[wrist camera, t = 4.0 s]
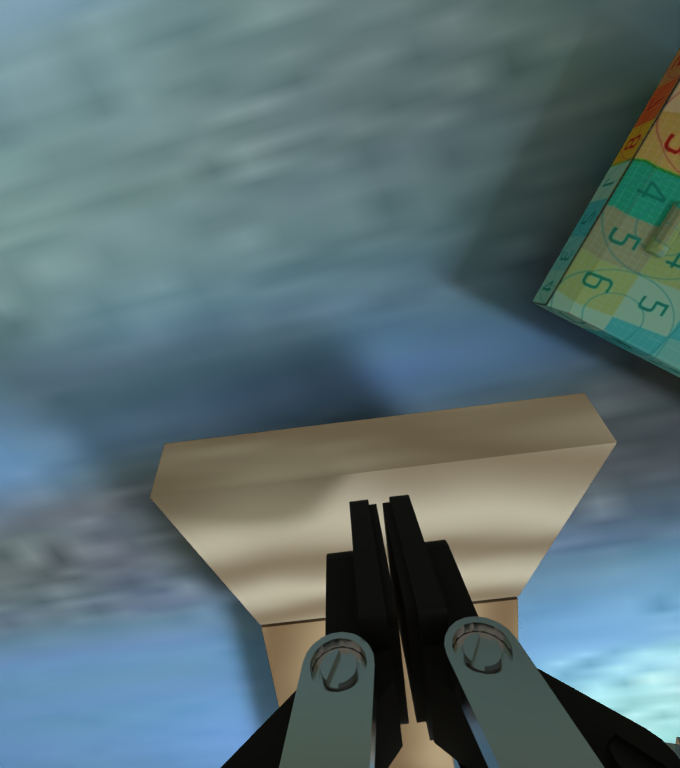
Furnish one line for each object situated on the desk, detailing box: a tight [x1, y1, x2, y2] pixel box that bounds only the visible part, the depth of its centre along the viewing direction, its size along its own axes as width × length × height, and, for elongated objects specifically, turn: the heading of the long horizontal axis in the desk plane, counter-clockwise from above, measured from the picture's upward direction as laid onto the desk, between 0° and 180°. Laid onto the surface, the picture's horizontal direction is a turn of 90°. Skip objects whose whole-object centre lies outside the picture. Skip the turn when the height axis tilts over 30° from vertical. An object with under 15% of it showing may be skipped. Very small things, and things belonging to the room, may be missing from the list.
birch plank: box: [150, 393, 617, 625], centre depth 18 cm, size 14×14×2 cm
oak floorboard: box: [262, 597, 518, 768], centre depth 25 cm, size 14×13×2 cm
